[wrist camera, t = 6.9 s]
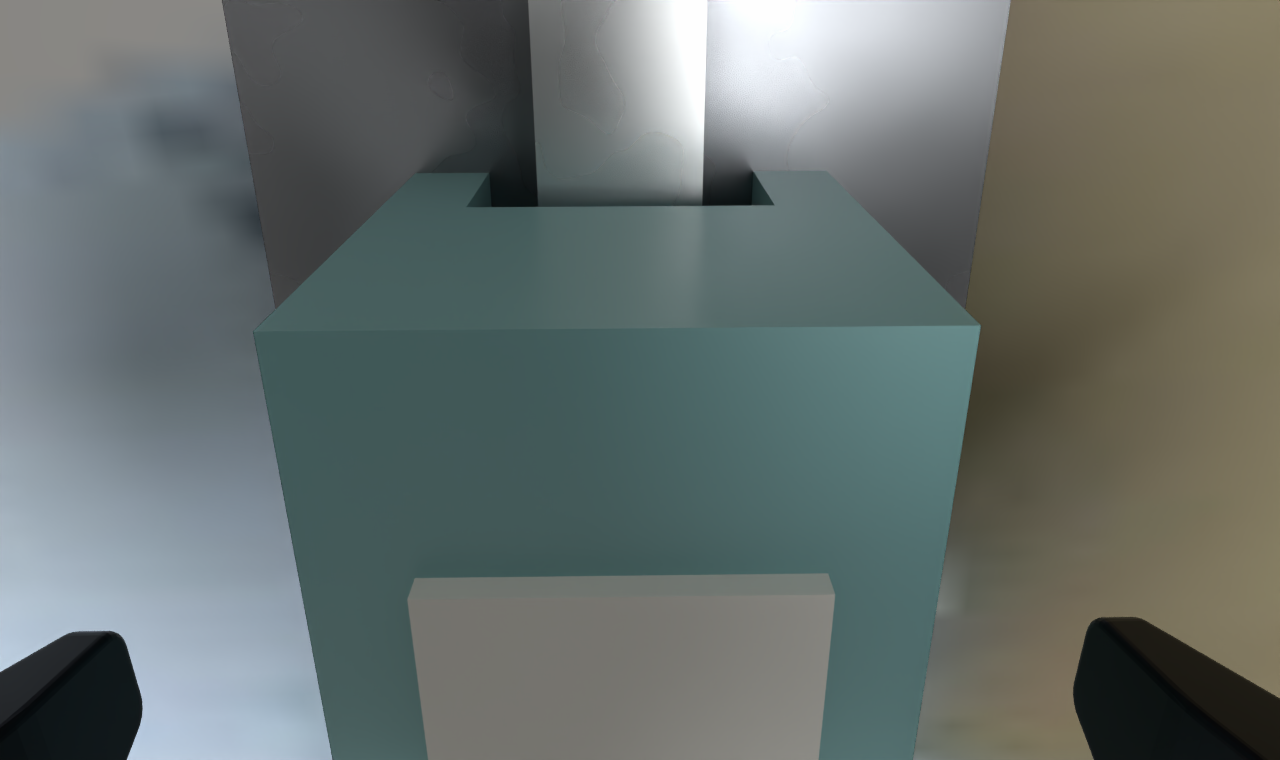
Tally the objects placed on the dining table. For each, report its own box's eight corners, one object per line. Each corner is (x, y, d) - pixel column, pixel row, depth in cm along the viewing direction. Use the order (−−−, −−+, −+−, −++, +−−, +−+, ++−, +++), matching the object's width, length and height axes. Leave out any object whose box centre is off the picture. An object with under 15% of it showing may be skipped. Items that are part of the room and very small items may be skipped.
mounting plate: (870, 819, 19) (904, 935, 17) (385, 827, 19) (352, 944, 17) (1036, -395, 11) (1145, -491, 9) (186, -395, 11) (69, -493, 9)
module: (792, 591, 15) (892, 959, 10) (458, 594, 15) (358, 968, 10) (825, 170, 13) (994, 339, 7) (415, 172, 13) (237, 346, 7)
